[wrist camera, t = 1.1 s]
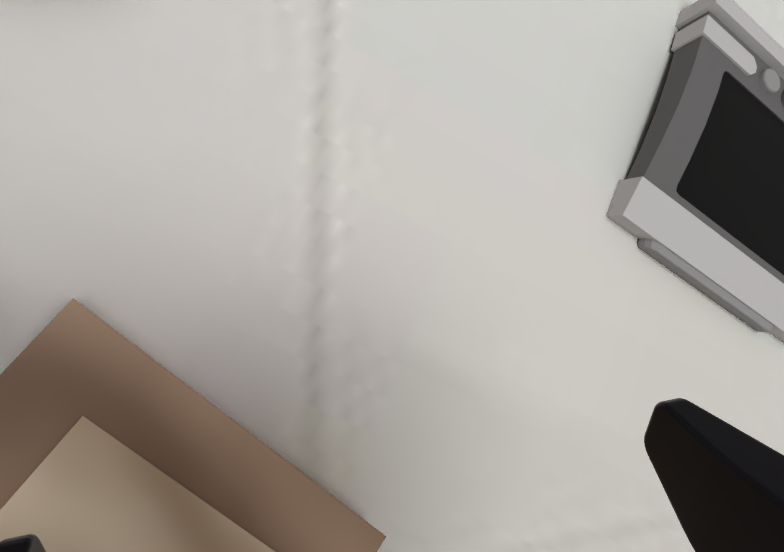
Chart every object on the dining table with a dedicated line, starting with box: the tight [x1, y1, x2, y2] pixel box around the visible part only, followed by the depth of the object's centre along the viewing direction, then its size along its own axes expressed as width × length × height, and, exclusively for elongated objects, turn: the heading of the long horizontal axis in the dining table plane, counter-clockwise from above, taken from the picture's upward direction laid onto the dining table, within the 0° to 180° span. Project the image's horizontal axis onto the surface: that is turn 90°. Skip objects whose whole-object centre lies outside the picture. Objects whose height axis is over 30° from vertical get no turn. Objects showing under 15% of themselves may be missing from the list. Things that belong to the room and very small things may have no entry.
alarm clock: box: [606, 0, 784, 342], centre depth 42 cm, size 17×5×16 cm
